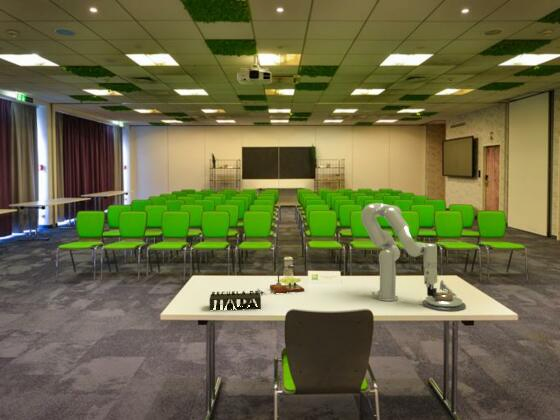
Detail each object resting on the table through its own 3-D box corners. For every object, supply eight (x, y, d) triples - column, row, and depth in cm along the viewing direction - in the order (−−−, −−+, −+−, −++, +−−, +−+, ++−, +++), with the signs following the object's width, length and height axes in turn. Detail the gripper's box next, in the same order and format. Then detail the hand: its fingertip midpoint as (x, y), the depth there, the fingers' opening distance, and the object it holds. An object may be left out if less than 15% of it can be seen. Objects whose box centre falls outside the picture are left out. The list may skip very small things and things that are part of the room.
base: (425, 310, 271) (426, 301, 271) (419, 299, 295) (419, 290, 295) (470, 312, 268) (470, 302, 268) (460, 300, 292) (460, 291, 291)
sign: (209, 311, 274) (209, 294, 273) (210, 306, 285) (210, 289, 284) (260, 310, 277) (260, 292, 276) (260, 304, 287) (259, 288, 286)
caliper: (439, 289, 322) (440, 279, 322) (441, 289, 322) (441, 279, 322) (455, 296, 302) (455, 287, 301) (456, 296, 302) (456, 286, 302)
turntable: (428, 307, 273) (429, 295, 272) (423, 297, 293) (423, 286, 292) (465, 308, 270) (466, 296, 270) (457, 298, 290) (457, 287, 290)
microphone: (254, 291, 320) (254, 265, 319) (297, 287, 330) (297, 262, 328) (260, 296, 307) (260, 269, 306) (304, 292, 317) (304, 265, 316)
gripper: (432, 267, 275) (432, 299, 276) (440, 263, 287) (440, 293, 288) (419, 266, 279) (419, 297, 280) (428, 262, 291) (428, 292, 292)
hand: (430, 295), depth 284 cm, fingers closed
